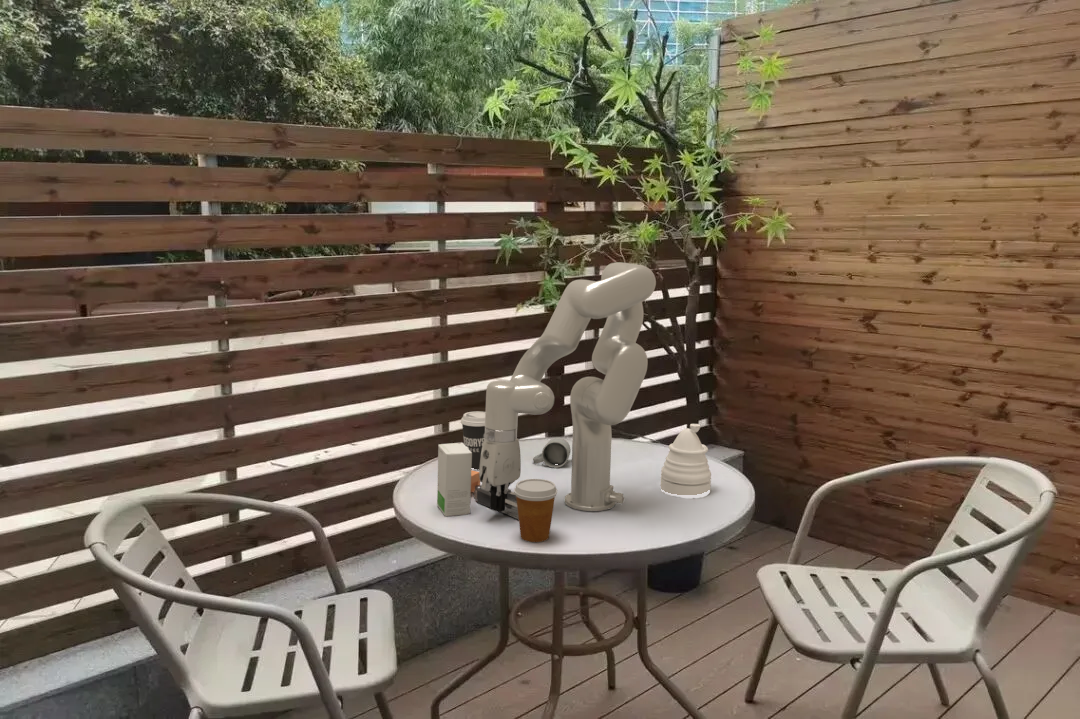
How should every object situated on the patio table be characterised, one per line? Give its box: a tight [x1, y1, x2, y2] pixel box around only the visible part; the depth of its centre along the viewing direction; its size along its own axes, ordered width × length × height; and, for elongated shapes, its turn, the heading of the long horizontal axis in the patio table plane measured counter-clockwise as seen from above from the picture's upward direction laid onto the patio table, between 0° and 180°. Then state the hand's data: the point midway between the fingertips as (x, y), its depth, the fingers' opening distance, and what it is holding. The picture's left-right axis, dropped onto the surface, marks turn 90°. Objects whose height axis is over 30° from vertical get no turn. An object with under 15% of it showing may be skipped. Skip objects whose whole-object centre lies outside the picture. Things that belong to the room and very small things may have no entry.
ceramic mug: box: [532, 437, 572, 469], centre depth 233 cm, size 11×8×8 cm
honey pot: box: [659, 423, 712, 495], centre depth 211 cm, size 13×13×18 cm
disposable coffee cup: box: [513, 478, 558, 543], centre depth 179 cm, size 10×10×12 cm
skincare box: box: [436, 442, 472, 518], centre depth 194 cm, size 8×7×16 cm
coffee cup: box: [460, 411, 486, 469], centre depth 228 cm, size 10×10×15 cm
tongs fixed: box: [475, 484, 517, 503], centre depth 200 cm, size 19×3×3 cm, turn 61°
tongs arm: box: [473, 489, 519, 521], centre depth 196 cm, size 17×2×3 cm, turn 42°
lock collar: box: [471, 469, 481, 493], centre depth 205 cm, size 3×7×5 cm, turn 151°
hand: (497, 509), depth 192 cm, fingers closed
